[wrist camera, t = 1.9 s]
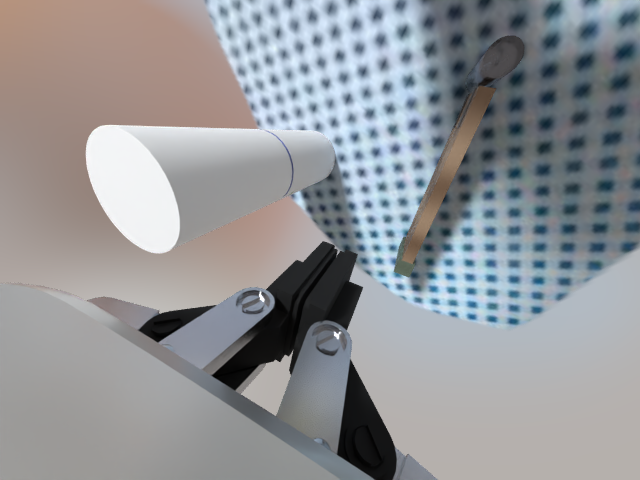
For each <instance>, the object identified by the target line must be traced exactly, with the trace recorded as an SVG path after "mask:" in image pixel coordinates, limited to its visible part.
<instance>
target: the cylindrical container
mask: <svg viewBox="0 0 640 480" xmlns="http://www.w3.org/2000/svg"><path fill="white" fill-rule="evenodd" d="M86 163H87V169H88V173H89V177H90V180H91V183H92V186H93V189H94V191H95V194H96V196H97V198H98V200H99V202H100V204H101V206H102V207H103V209H104V211H105V212H106V214H107V215H108V217H109V218H110V220H111V221H112V222H113V224H114V225H115V226H116V227H117V228H118V230H119V231H120V232H121V233H122V234H123V235H124V236H125V237H126V238H127V239H129V240H130V241H131V242H132V243H134V244H135V245H137V246H138V247H140V248H142V249H144V250H146V251H149V252H152V253H165V252H167V251H169V250H172V249H174V248H176V247H178V246H180V245H182V244H185V243H187V242H189V241H191V240H193V239H196V238H197V237H200V236H202V235H204V234H206V233H209V232H211V231H213V230H215V229H217V228H219V227H221V226H224V225H226V224H228V223H230V222H232V221H235V220H237V219H239V218H241V217H243V216H246V215H248V214H250V213H252V212H254V211H257V210H259V209H261V208H263V207H265V206H267V205H270V204H272V203H274V202H276V201H278V200H280V199H282V198H285V197H287V196H289V195H291V194H293V193H296V192H298V191H300V190H302V189H304V188H306V187H309V186H311V185H313V184H315V183H317V182H319V181H321V180H323V179H325V178H326V177H328V176H329V174H330V173H331V171H332V170H333V167H334V164H335V152H334V148H333V145H332V143H331V142H330V140H329V139H328V138H327V137H326V136H325V135H323V134H322V133H320V132H317V131H301V130H266V129H229V128H191V127H159V126H124V125H123V126H122V125H105V126H99V127H98V128H96V129H95V130H93V132H92V133H91V135H90V136H89V139H88V142H87V146H86Z"/></svg>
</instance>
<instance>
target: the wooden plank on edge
mask: <svg viewBox="0 0 640 480" xmlns="http://www.w3.org/2000/svg"><path fill="white" fill-rule="evenodd" d="M495 90H496V88H490V87H484V86H479V87H478V88H475V89H474V90H473V92H472V93H471V94H468V95H467V97H466V99H465V101H464V104H463V106H462V108H461V111H460V113H459V115H458V118H457V120H456V122H455V125H454V127H453V129H452V132H451V134H450V136H449V139H448V141H447V143H446V146H445V148H444V150H443V153H442V155H441V157H440V160H439V162H438V164H437V166H436V169H435V171H434V173H433V176H432V178H431V180H430V183H429V185H428V187H427V190H426V192H425V194H424V197H423V199H422V201H421V204H420V206H419V208H418V211H417V213H416V215H415V218H414V220H413V222H412V225H411V227H410V229H409V232H408V234H407V236H406V237H403V239H402V241H401V244H400V246H399V250H398V254H397V259H396V264H395V269H394V272H396V273H399V274H401V275H404V276H407V277H410V274H411V272H412V270H413V268H414V266H415V258H416V256H417V253H418V251H419V249H420V247H421V245H422V243H423V241H424V239H425V237H426V235H427V232H428V230H429V228H430V226H431V224H432V222H433V220H434V218H435V216H436V214H437V212H438V209H439V207H440V205H441V203H442V201H443V199H444V197H445V195H446V193H447V191H448V189H449V186H450V184H451V182H452V180H453V178H454V176H455V174H456V172H457V170H458V168H459V165H460V163H461V161H462V159H463V157H464V155H465V153H466V151H467V149H468V147H469V145H470V142H471V140H472V138H473V136H474V134H475V132H476V130H477V128H478V126H479V124H480V121H481V119H482V117H483V115H484V113H485V111H486V109H487V107H488V105H489V103H490V101H491V98H492V96H493V94H494V92H495Z"/></svg>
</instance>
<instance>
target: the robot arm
mask: <svg viewBox="0 0 640 480" xmlns="http://www.w3.org/2000/svg"><path fill="white" fill-rule="evenodd" d="M334 247H335V246H334V245H332V244H329V243H327V242H322V243H321V244H320V245H319V246H318V247H317V248H316V249H315V250H314V251H313V252H312V253H311V254H310V255H309V256H308V257H307V259H306V260H305V261H304V262H301V261H298V260H297V261H295V262H294V263H293V264H292V265H291V266H290V267H289V268H288V269H287V270H286V271H285V272H283V274H281V275H280V276H279V277H278V278H277V279H276V280H275V281H274V282H273V283H272V284H271V285H270V286H269V287H268V288H267V289H266V290H265V289H262V288H257V287H254V288H251V287H250V288H246V289H243V290H241V291H239V292H237V293H235V294H234V295H232V296H231V297H229V298H227V299H226V300H224V301H223V302H221V303H220V304H218V305H214V306H206V307H198V308H191V309H184V310H176V311H169V312H165V313H161V314H159V310H156V309H152V308H148V307H144V306H141V305H137V304H133V303H130V302H126V301H122V300H118V299H115V298H110V297H98V298H93V299H90V300H87V301H86V300H84V299H82V298H80V297H78V296H75V295H73V294H70V293H67V292H64V291H61V290H57V289H53V288H49V287H44V286H38V285H29V284H22V283H0V480H437V479H436V478H435V477H434V476H433V475H432V474H431V473H429V472H428V471H427V470H426V469H425V468H424V467H423V466H421V465H420V464H419V463H418V462H417V461H416V460H415V459H414V458H412V457H411V456H410V455H409V454H407V456H405V455H403V454H402V453H401V452H400V451H399V450H398V449H396V448H395V446H394V444H393V441H392V439H391V436H390V434H389V432H388V430H387V428H386V426H385V425H384V423H383V421H382V419H381V417H380V415H379V413H378V411H377V409H376V407H375V405H374V403H373V402H372V400H371V398H370V396H369V394H368V392H367V390H366V388H365V386H364V384H363V382H362V380H361V379H360V377H359V375H358V373H357V371H356V369H355V367H354V365H353V363H352V361H351V359H350V357H351V350H352V340H351V338H350V335H349V333H348V332H347V328H348V326H349V323H350V321H351V318H352V316H353V313H354V310H355V307H356V305H357V302H358V300H359V297H360V294H361V292H362V289H363V287H361V286H359V285H356V284H354V283H352V282H349V280H350V277H351V273H352V270H353V267H354V264H355V261H356V258H357V254H356V253H353V252H351V251H348V250H346V251H345V252H342V251H340V253H339V254H338V255H337V251H338V250H337V249H334ZM336 255H337V257H336ZM293 349H294V350H293ZM292 351H293V355H292V360H291V364H290V369H289V371H290V374H291V377H290V380H289V383H288V386H287V388H286V391H285V394H284V396H283V399H282V402H281V405H280V407H279V410H278V413H277V415H276V416H274V415H273V414H271V413H270V412H268V411H267V410H265V409H263V408H262V407H260V406H259V405H257V404H255V403H254V402H252V401H251V400H249V399H247V398H245V397H244V396H243V395H241V393H242V392H243V391H244V389H245V388H246V387H247V386H248V385H249V384H250V383H251V382H252V381H253V380H254V379H255V378H256V376H257V375H258V374H259V373H260V372H261V371H262V370H263V368H264V367H265V365H266V363H269V362H273V361H274V360H277V361H279V362H281V360H282V358H283V357H284V355H287V356H289V355H290V354H291V352H292Z"/></svg>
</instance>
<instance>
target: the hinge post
mask: <svg viewBox="0 0 640 480" xmlns="http://www.w3.org/2000/svg"><path fill="white" fill-rule="evenodd" d="M523 54H524V44H523V42H522V40H521V39H520V38H518V37H516V36H505V37H502V38H500V39H498V40H497V41H495V42H494V43H493V44H492V45H491V46H490V47H489V49H488V50H487V51H486V52H485V54H484V55H483V56H482V58H481V59H480V60H479V62H478V63H477V64H476V65H475V67H474V68H473V69H472V71H471V72H470V73H469V75H468V76H467V78H466V82H465V86H466V89H467V90H468V91H469V92H470V93H472V92H473V90H474V89H475V88H478V87H479V86H484V87H490V86H491V85H493V84H494V83H495V82H497V81H498V80H500V79H501V78H502V77H504V76H505V75H507V74H508V73H510V72H511V71H512V70H513V69H515V68H516V66H517V65H518V64H519V63H520V61H521V59H522V57H523Z"/></svg>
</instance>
